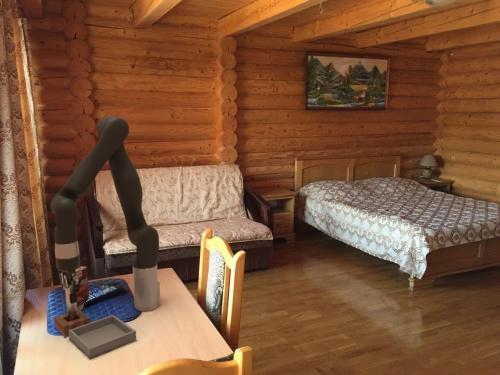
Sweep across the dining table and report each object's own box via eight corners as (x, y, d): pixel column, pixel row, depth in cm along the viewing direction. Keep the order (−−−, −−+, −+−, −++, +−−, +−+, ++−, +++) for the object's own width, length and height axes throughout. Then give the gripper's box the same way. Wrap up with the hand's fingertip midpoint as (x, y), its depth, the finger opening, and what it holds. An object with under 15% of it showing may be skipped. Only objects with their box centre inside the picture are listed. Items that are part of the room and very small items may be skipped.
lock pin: (76, 313, 152) (73, 278, 150) (81, 317, 149) (78, 282, 147) (64, 317, 150) (61, 282, 147) (69, 321, 147) (65, 285, 144)
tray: (113, 323, 154) (113, 314, 153) (136, 340, 142) (135, 331, 142) (69, 339, 142) (68, 330, 142) (90, 359, 131) (89, 349, 131)
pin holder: (79, 319, 156) (79, 309, 156) (90, 328, 150) (89, 317, 149) (54, 328, 150) (53, 317, 149) (64, 337, 144) (63, 326, 143)
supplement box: (77, 313, 161) (74, 274, 158) (65, 312, 162) (63, 273, 159) (90, 304, 169) (87, 266, 166) (79, 302, 170) (76, 265, 167)
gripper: (86, 256, 143) (90, 304, 146) (70, 247, 153) (73, 291, 156) (64, 262, 138) (68, 311, 141) (48, 251, 148) (52, 298, 151)
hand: (71, 300), depth 148 cm, fingers closed on lock pin, 3 cm apart
